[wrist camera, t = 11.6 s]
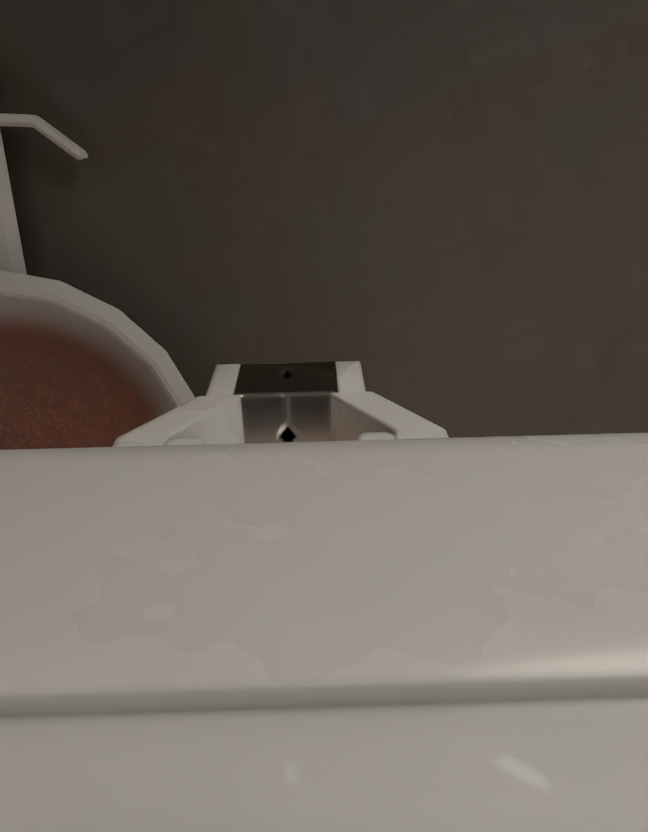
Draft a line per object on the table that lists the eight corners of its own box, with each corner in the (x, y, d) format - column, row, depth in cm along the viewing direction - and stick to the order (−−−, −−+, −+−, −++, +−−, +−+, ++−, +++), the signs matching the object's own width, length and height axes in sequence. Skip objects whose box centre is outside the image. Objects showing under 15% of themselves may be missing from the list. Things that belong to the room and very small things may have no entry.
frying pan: (177, -39, 21) (212, 593, 33) (191, -21, 24) (218, 559, 36) (-342, -66, 20) (-113, 591, 32) (-268, -45, 23) (-82, 556, 35)
